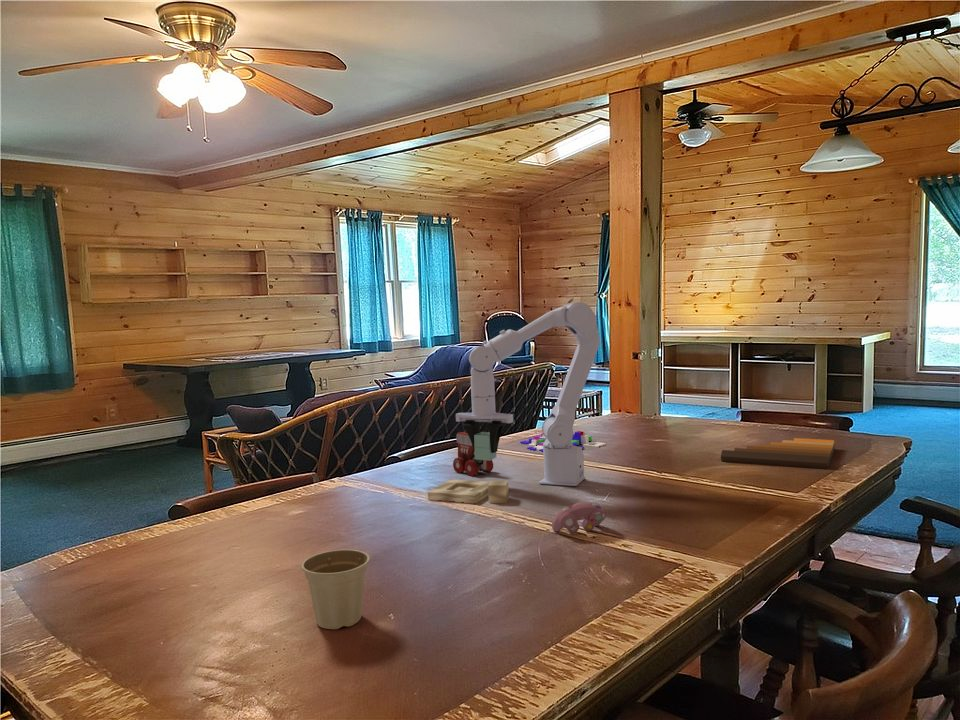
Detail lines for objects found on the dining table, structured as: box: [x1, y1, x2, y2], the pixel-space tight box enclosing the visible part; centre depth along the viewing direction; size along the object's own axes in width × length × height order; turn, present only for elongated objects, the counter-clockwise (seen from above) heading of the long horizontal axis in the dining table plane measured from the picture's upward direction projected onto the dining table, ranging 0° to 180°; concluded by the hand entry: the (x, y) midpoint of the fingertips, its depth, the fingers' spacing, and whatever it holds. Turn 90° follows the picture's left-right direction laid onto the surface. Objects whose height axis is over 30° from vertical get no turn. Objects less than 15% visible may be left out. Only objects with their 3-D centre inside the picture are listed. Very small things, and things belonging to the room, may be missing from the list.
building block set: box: [519, 430, 607, 453], centre depth 211 cm, size 25×20×4 cm
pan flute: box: [720, 437, 836, 470], centre depth 183 cm, size 25×3×25 cm
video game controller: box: [551, 501, 607, 534], centre depth 129 cm, size 10×5×7 cm, turn 106°
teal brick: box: [474, 431, 498, 461], centre depth 165 cm, size 4×4×6 cm
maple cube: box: [487, 480, 510, 504], centre depth 153 cm, size 4×4×4 cm
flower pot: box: [301, 549, 371, 630], centre depth 96 cm, size 9×9×9 cm
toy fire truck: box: [452, 431, 494, 477], centre depth 181 cm, size 7×12×10 cm, turn 40°
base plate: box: [427, 479, 490, 504], centre depth 159 cm, size 12×12×2 cm
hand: (485, 451), depth 165 cm, fingers closed on teal brick, 4 cm apart
